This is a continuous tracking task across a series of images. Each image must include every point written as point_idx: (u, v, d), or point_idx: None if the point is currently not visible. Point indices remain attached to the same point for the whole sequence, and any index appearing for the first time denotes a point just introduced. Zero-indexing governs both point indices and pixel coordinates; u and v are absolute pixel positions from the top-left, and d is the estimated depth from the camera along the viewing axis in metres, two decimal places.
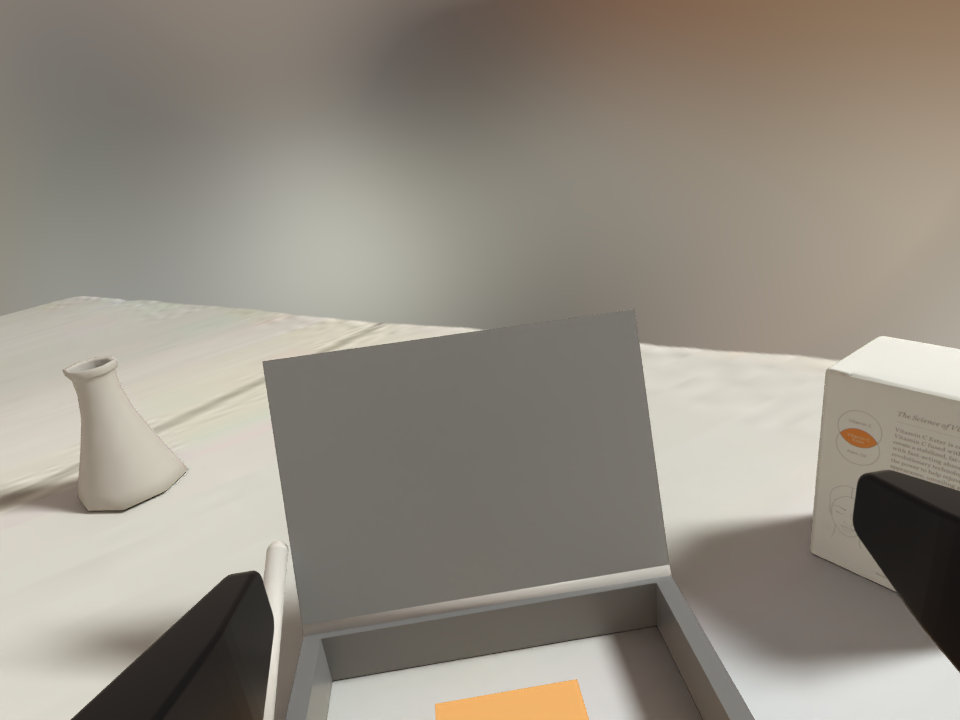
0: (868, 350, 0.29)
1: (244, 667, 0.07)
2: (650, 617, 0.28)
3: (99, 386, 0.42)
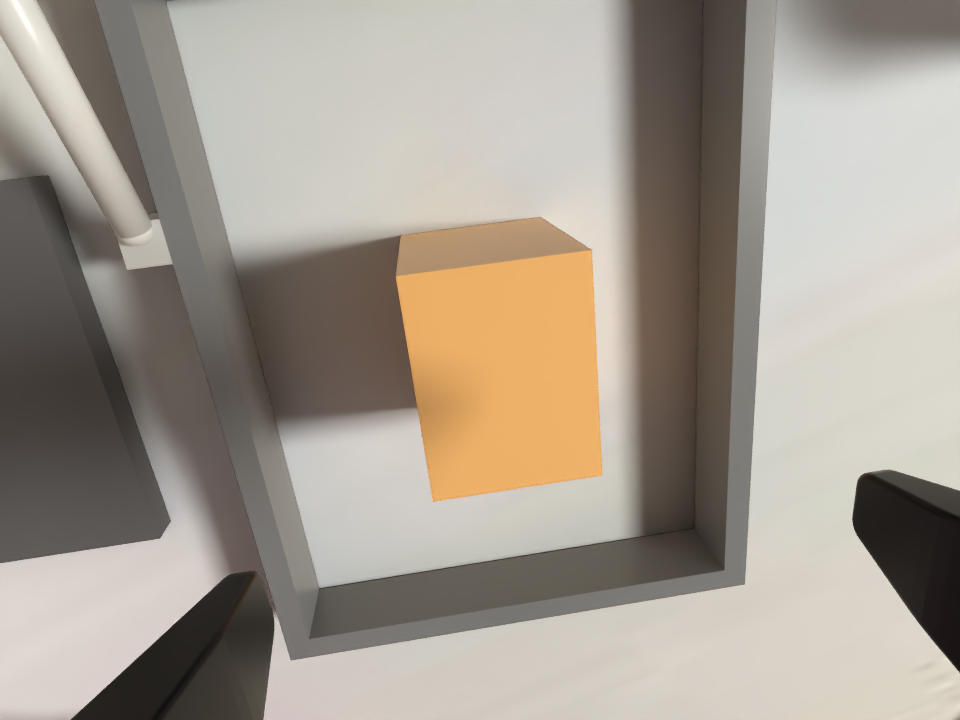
0: None
1: (244, 667, 0.07)
2: None
3: None
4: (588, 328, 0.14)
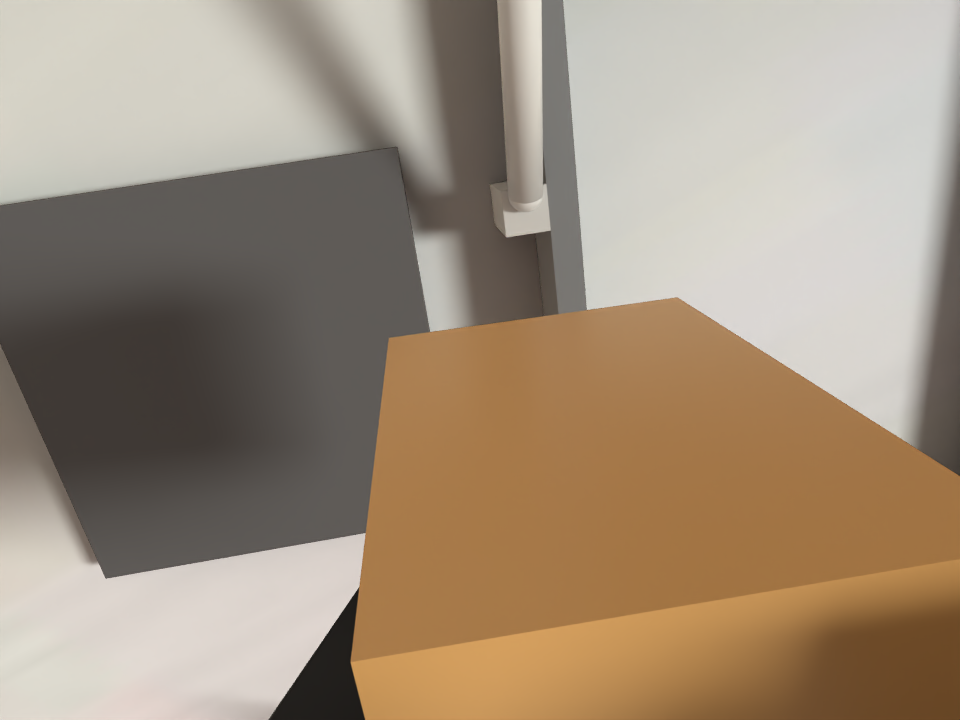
0: None
1: None
2: None
3: None
4: None
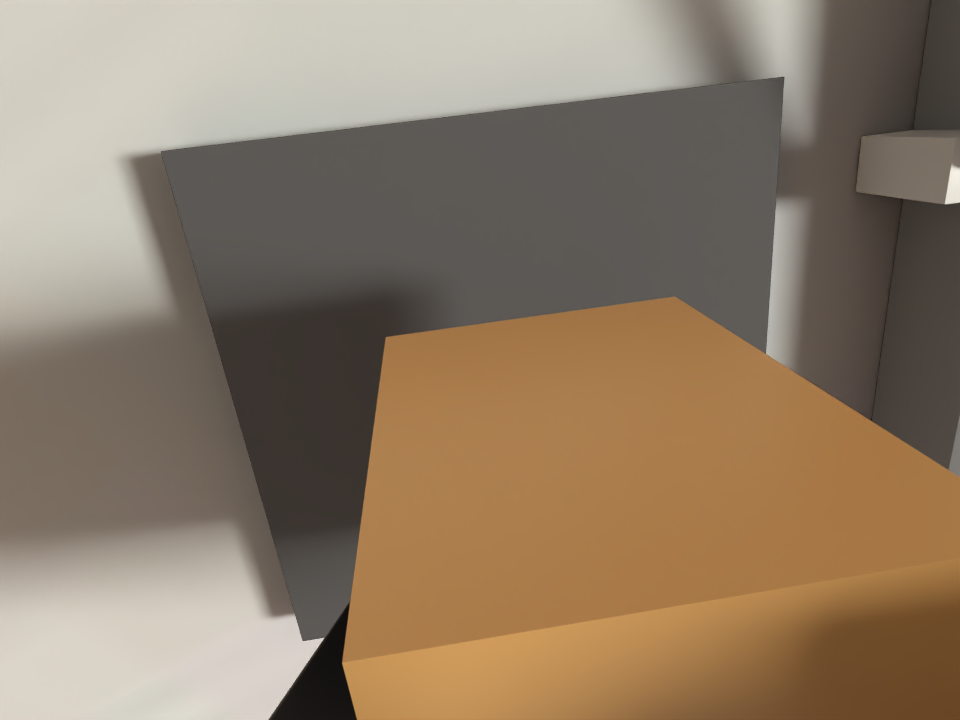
0: None
1: None
2: None
3: None
4: None
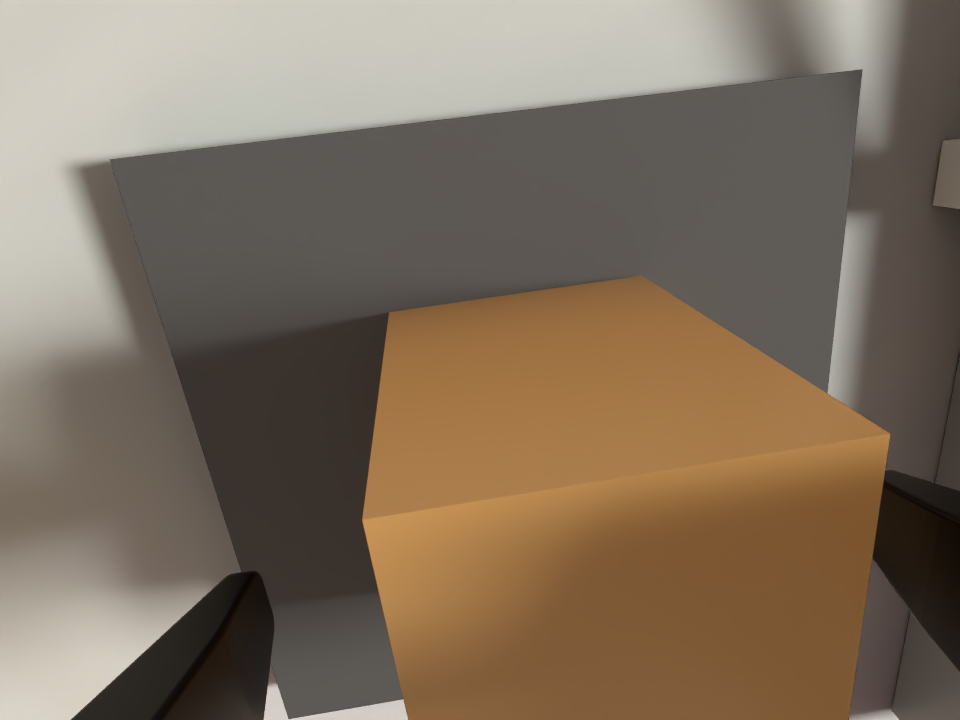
0: None
1: (244, 667, 0.07)
2: None
3: None
4: (848, 607, 0.06)
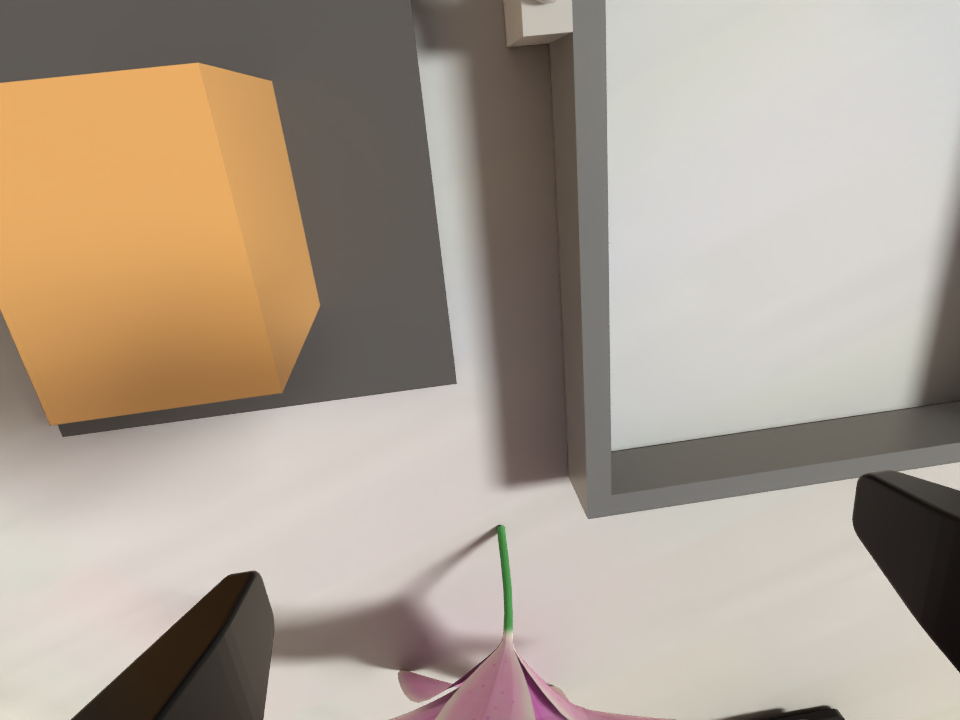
0: None
1: (244, 667, 0.07)
2: None
3: None
4: (218, 182, 0.11)
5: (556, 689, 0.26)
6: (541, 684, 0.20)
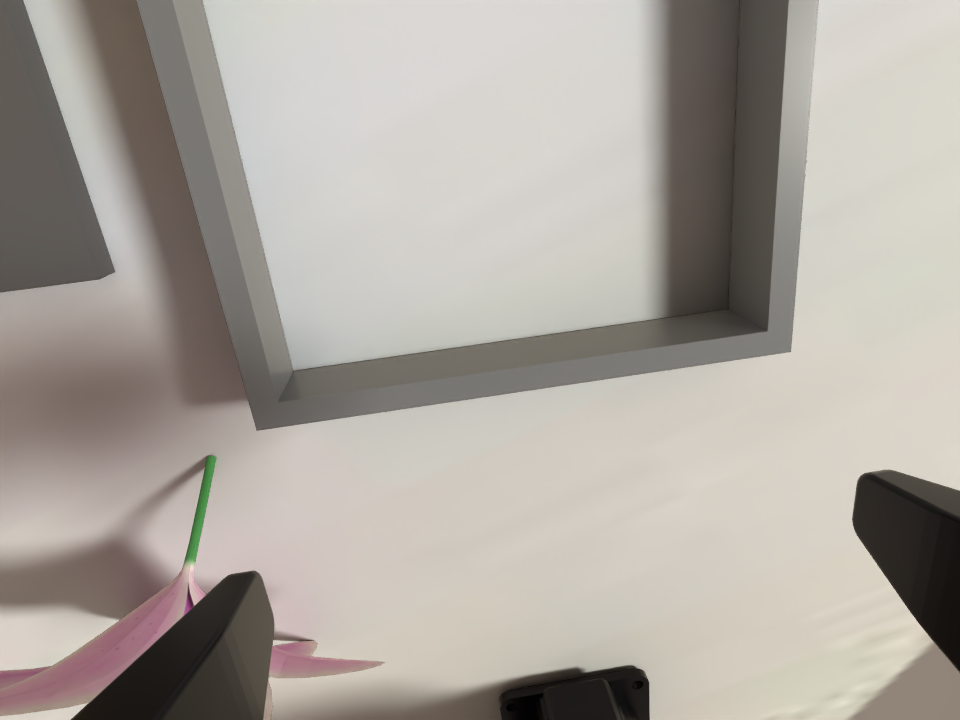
0: None
1: (244, 667, 0.07)
2: None
3: None
4: None
5: (311, 643, 0.24)
6: None
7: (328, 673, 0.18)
